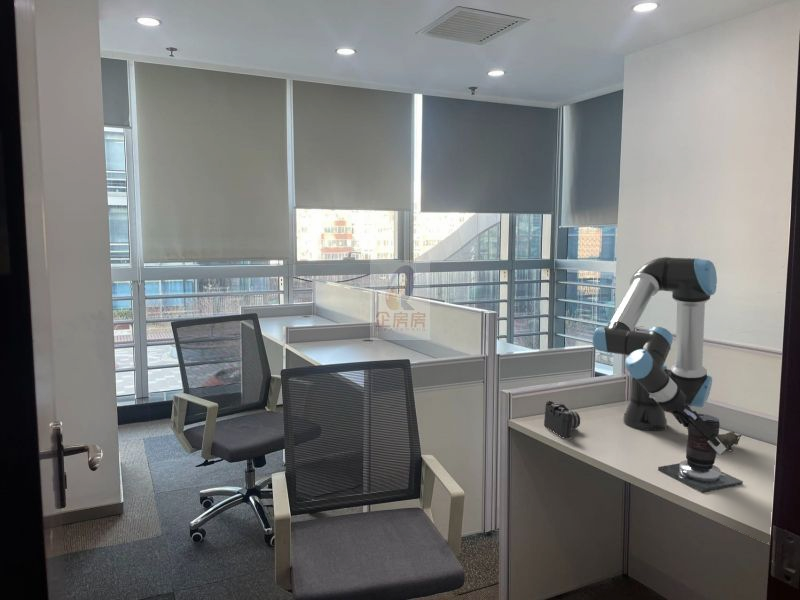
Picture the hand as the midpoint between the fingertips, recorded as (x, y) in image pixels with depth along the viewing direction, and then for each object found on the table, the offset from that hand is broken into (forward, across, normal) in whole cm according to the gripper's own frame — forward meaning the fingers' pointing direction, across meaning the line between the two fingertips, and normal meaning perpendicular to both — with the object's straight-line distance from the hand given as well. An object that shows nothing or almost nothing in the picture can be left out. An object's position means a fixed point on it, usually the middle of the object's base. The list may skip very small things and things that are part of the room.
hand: (712, 445), depth 174 cm
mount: (+5, 0, -9) cm, 10 cm away
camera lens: (+2, 0, -7) cm, 7 cm away
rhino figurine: (+22, -20, +7) cm, 30 cm away
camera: (-13, -41, -28) cm, 51 cm away
